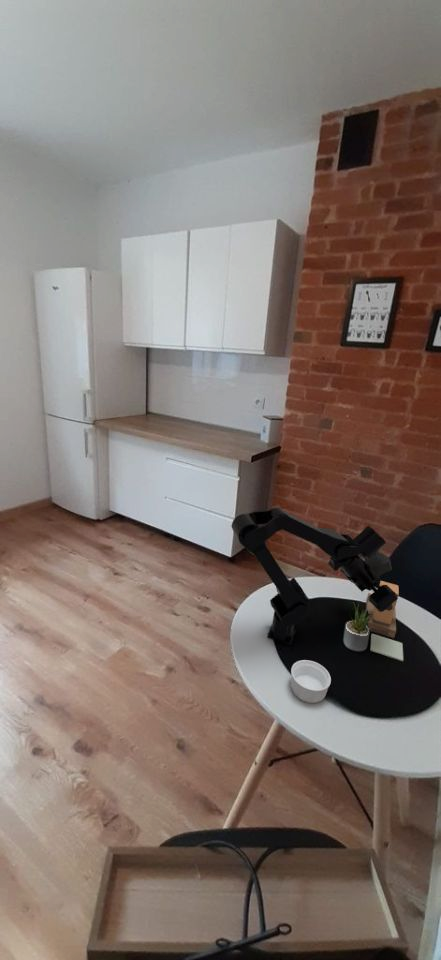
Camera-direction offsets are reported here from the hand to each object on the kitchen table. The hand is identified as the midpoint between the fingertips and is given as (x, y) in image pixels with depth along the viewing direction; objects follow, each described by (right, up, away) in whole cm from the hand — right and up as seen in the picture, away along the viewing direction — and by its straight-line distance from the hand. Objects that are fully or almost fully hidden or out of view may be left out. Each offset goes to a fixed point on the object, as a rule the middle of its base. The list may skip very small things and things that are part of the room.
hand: (380, 599), depth 110 cm
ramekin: (-25, -14, -21) cm, 36 cm away
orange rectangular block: (+1, -9, +3) cm, 9 cm away
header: (+2, -8, +7) cm, 11 cm away
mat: (-1, -11, -5) cm, 13 cm away
